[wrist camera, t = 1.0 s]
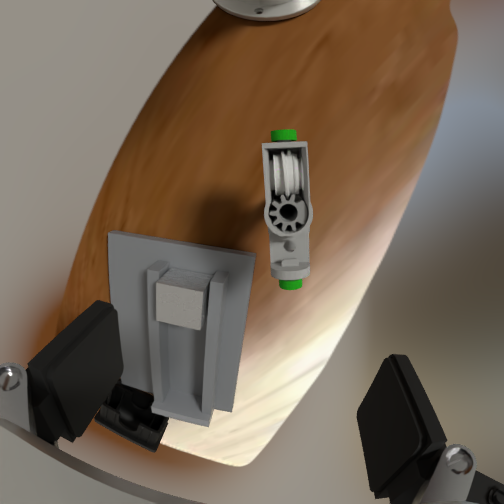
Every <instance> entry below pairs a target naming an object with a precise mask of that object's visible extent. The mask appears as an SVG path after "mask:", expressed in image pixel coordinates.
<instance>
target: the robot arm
mask: <svg viewBox="0 0 504 504" xmlns="http://www.w3.org/2000/svg"><path fill="white" fill-rule="evenodd" d="M320 1H321V0H213V2H214V3H215V4H216V5H217V6H218V7H219V8H221V9H222V10H224V11H226V12H227V13H229V14H232V15H234V16H237V17H240V18H244V19H248V20H257V21H276V20H283V19H288V18H292V17H296V16H298V15H301V14H303V13H305V12H307V11H309V10H310V9H312V8H313V7H315V6H316V5H317V4H318V3H319V2H320ZM259 13H260V14H259ZM123 370H124V364H123V357H122V350H121V341H120V332H119V322H118V312H117V310H116V309H114V306H113V305H112V304H110V303H107V302H103V301H100V300H97V301H95V302H94V303H93V304H92V305H91V306H90V307H89V308H87V309H86V310H85V311H84V312H83V313H82V314H81V315H79V316H78V317H77V318H76V319H75V320H74V321H73V322H72V323H70V324H69V325H68V326H67V327H66V328H65V329H64V330H63V331H62V332H61V333H59V334H58V335H57V336H56V337H55V338H54V339H53V340H52V341H51V342H50V343H49V344H48V345H46V346H45V347H44V348H43V349H42V350H41V351H40V352H39V353H38V354H37V355H36V356H35V357H34V358H33V359H32V360H31V361H30V362H29V363H28V368H27V369H26V370H25V369H24V368H23V367H22V366H21V365H19V364H16V363H4V364H1V365H0V504H205V503H200V502H196V501H192V500H187V499H184V498H179V497H176V496H173V495H169V494H165V493H162V492H159V491H156V490H152V489H150V488H146V487H143V486H141V485H138V484H135V483H132V482H130V481H127V480H124V479H122V478H119V477H117V476H114V475H112V474H109V473H107V472H105V471H103V470H100V469H98V468H96V467H94V466H91V465H90V464H87V463H85V462H83V461H81V460H79V459H77V458H75V457H73V456H71V455H69V454H67V453H65V452H63V451H62V450H60V449H59V447H58V442H57V440H58V439H59V437H60V436H61V437H63V438H65V439H67V440H69V441H70V442H74V440H75V439H76V437H80V436H82V434H83V433H84V431H85V430H86V428H87V427H88V425H89V424H90V422H91V420H92V419H93V417H94V416H95V414H96V413H97V411H98V410H99V408H100V407H101V405H102V404H103V402H104V401H105V399H106V398H107V396H108V395H109V393H110V392H111V390H112V389H113V387H114V386H115V384H116V383H117V381H118V380H119V378H120V377H121V375H122V373H123ZM357 422H358V426H359V431H360V436H361V441H362V447H363V452H364V457H365V463H366V469H367V474H368V480H369V486H370V490H371V491H372V492H374V495H375V499H379V498H387V497H389V499H390V504H504V485H503V484H501V483H499V482H497V481H495V480H493V479H492V478H490V477H488V476H485V475H484V474H482V473H480V472H478V471H476V466H477V462H476V458H475V456H474V454H473V453H472V451H471V450H470V449H469V448H467V447H466V446H463V445H460V444H453V445H450V446H448V447H446V444H445V442H446V441H447V439H446V436H445V434H444V431H443V429H442V427H441V425H440V422H439V420H438V418H437V416H436V413H435V411H434V409H433V407H432V405H431V403H430V400H429V398H428V396H427V394H426V392H425V390H424V388H423V386H422V384H421V382H420V380H419V378H418V376H417V374H416V372H415V370H414V368H413V366H412V364H411V362H410V360H409V358H408V357H407V356H406V355H397V354H392V355H390V356H389V357H388V358H385V359H384V361H383V363H382V365H381V367H380V369H379V371H378V373H377V375H376V377H375V379H374V381H373V383H372V384H371V386H370V388H369V390H368V392H367V394H366V396H365V398H364V399H363V401H362V403H361V405H360V407H359V408H358V411H357Z"/></svg>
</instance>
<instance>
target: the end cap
mask: <svg viewBox="0 0 504 504" xmlns="http://www.w3.org/2000/svg"><path fill="white" fill-rule="evenodd" d="M153 402H154V396H152V395H150V394H148V393H146V392H144V391H142V390H140V389H136V388H133V387H130V386H127V385H124V384H122V381H121V379H119V380H118V381H117V383H116V384H115V386H114V387H113V389H112V390H111V392H110V393H109V395H108V396H107V398H106V399H105V401H104V402H103V404H102V405H101V408H100V410H99V411H98V413H97V414H96V416H95V417H94V419H95V422H97V423H98V424H100V425H102V426H103V427H105V428H107V429H109V430H110V431H112V432H114V433H116V434H118V435H119V436H121V437H123V438H125V439H127V440H129V441H131V442H133V443H135V444H137V445H139V446H141V447H143V448H145V449H147V450H149V451H151V452H156V450H157V448H158V446H159V443H160V441H161V439H162V436H163V434H164V432H165V429H166V427H167V425H168V420H169V417H166V416H162V415H159V414H156V413H152V409H151V406H152V404H153Z"/></svg>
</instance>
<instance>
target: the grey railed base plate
mask: <svg viewBox="0 0 504 504" xmlns="http://www.w3.org/2000/svg"><path fill="white" fill-rule="evenodd" d="M255 258H256V253H251V252H245V251H239V250H233V249H227V248H220V247H214V246H208V245H202V244H196V243H190V242H183V241H177V240H171V239H165V238H159V237H153V236H146V235H140V234H134V233H128V232H122V231H116V230H113V231H111V232H109V233H108V259H109V281H110V296H111V304H112V305H113V306H114V309H116V310H117V312H118V322H119V332H120V341H121V350H122V357H123V364H124V370H123V373H122V375H121V381H122V384H124V385H127V386H130V387H133V388H136V389H140V390H143V391H146V392H149V393H153V394H154V402H153V404H152V406H151V409H152V413H156V414H159V415H162V416H166V417H170V418H173V419H177V420H181V421H185V422H189V423H193V424H197V425H201V426H206V427H209V425H210V421H211V418H212V414H213V411H214V409H217V410H222V411H227V412H232V409H233V403H234V397H235V390H236V384H237V377H238V371H239V364H240V358H241V351H242V345H243V338H244V332H245V325H246V318H247V312H248V305H249V299H250V292H251V285H252V279H253V272H254V265H255ZM170 268H176V269H182V270H187V271H193V272H198V273H204V274H209V275H213V278H212V280H211V281H210V292H209V304H208V316H207V318H206V320H205V322H204V324H203V326H202V328H201V330H196V329H191V328H187V327H182V326H178V325H173V324H169V323H165V322H161V321H156V282H157V281H158V280H159V279H160V278H161V277H162V276H163V275H164V274H165V273H166V272H167V271H168V270H169V269H170Z"/></svg>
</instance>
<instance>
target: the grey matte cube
mask: <svg viewBox="0 0 504 504" xmlns="http://www.w3.org/2000/svg"><path fill="white" fill-rule="evenodd" d="M212 278H213V275H209V274H204V273H198V272H193V271H187V270H182V269H176V268H170V269H169V270H168V271H167V272H166V273H165V274H164V275H163V276H162V277H161V278H160V279H159V280H158V281H157V282H156V321H161V322H165V323H169V324H173V325H178V326H182V327H187V328H191V329H196V330H201V328H202V326H203V324H204V322H205V320H206V318H207V316H208V304H209V292H210V281H211V280H212Z"/></svg>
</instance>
